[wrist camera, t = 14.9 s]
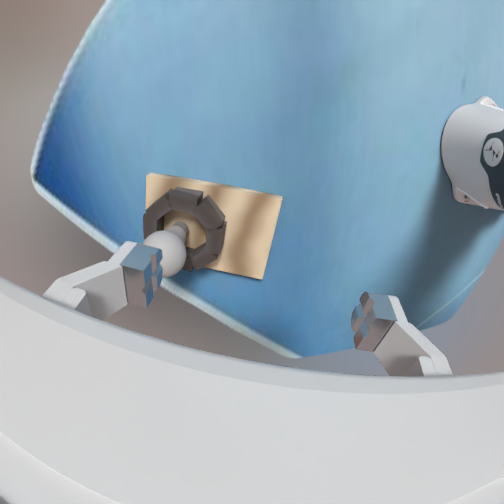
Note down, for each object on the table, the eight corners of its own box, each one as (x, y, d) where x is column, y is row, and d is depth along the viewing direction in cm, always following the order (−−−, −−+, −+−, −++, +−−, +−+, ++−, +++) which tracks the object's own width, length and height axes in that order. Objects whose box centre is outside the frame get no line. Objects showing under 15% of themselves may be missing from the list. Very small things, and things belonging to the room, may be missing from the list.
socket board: (282, 196, 39) (281, 208, 35) (262, 274, 46) (260, 291, 43) (150, 172, 39) (137, 182, 35) (150, 249, 46) (139, 264, 43)
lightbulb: (187, 250, 44) (162, 294, 34) (157, 227, 42) (125, 266, 33) (209, 225, 41) (187, 268, 32) (177, 200, 39) (145, 235, 30)
